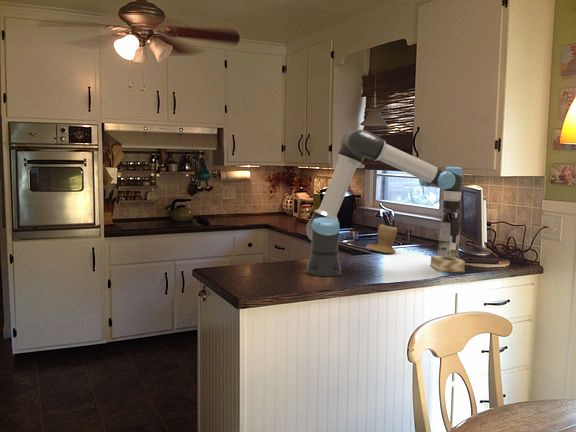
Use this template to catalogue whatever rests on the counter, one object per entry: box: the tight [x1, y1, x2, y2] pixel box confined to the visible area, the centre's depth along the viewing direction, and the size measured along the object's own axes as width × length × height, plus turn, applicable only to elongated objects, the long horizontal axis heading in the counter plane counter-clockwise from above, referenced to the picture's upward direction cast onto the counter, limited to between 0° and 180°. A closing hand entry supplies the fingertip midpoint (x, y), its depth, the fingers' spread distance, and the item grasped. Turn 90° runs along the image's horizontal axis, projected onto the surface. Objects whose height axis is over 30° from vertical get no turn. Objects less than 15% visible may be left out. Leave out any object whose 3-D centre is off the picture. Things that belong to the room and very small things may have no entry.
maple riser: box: [429, 255, 466, 273], centre depth 259 cm, size 12×12×5 cm
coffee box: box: [437, 221, 462, 258], centre depth 257 cm, size 9×6×16 cm
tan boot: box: [365, 224, 398, 254], centre depth 298 cm, size 15×12×15 cm
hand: (448, 247), depth 258 cm, fingers closed on coffee box, 10 cm apart
